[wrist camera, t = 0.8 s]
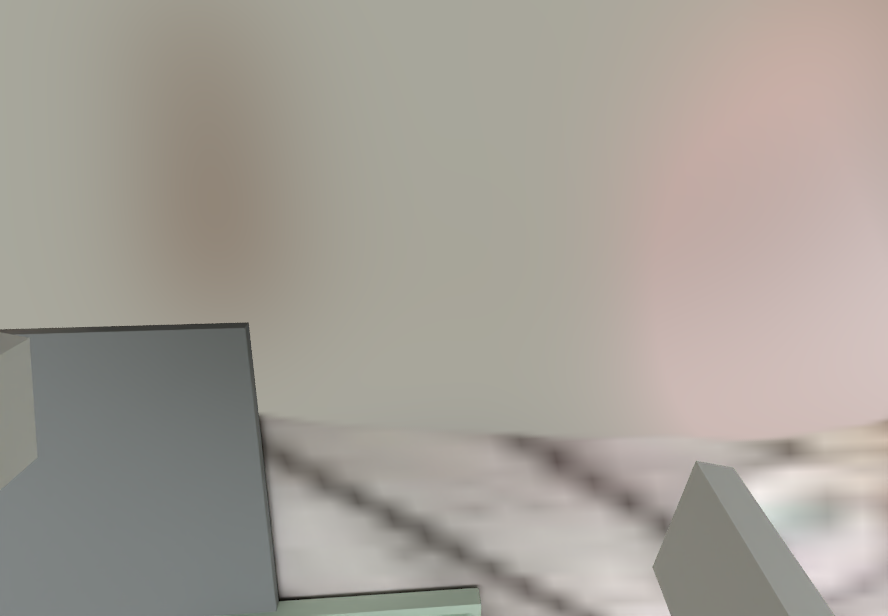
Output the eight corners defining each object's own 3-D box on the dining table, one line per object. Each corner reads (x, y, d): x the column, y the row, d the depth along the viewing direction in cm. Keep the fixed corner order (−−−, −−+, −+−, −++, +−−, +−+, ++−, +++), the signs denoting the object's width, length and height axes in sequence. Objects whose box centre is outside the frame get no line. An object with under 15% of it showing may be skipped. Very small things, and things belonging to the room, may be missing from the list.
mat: (-248, 336, 22) (-265, 342, 22) (248, 322, 24) (245, 328, 23) (-133, 629, 27) (-144, 640, 26) (278, 601, 28) (276, 611, 28)
